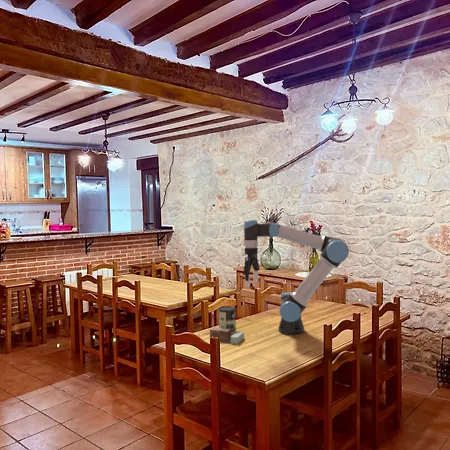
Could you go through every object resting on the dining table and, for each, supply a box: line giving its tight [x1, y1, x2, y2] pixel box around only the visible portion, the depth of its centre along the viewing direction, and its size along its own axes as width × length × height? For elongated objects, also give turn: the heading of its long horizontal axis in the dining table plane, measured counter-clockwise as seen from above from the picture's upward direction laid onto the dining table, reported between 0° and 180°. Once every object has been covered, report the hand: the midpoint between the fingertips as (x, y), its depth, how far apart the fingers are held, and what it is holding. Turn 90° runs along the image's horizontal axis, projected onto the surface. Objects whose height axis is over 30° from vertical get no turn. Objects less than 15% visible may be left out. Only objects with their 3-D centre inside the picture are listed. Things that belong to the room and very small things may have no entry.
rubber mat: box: [220, 338, 231, 344], centre depth 247 cm, size 11×10×1 cm
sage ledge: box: [230, 331, 245, 345], centre depth 244 cm, size 4×10×4 cm, turn 157°
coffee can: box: [218, 305, 237, 335], centre depth 261 cm, size 10×10×14 cm
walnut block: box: [209, 326, 232, 340], centre depth 248 cm, size 5×5×11 cm
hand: (251, 284), depth 248 cm, fingers open, 13 cm apart
